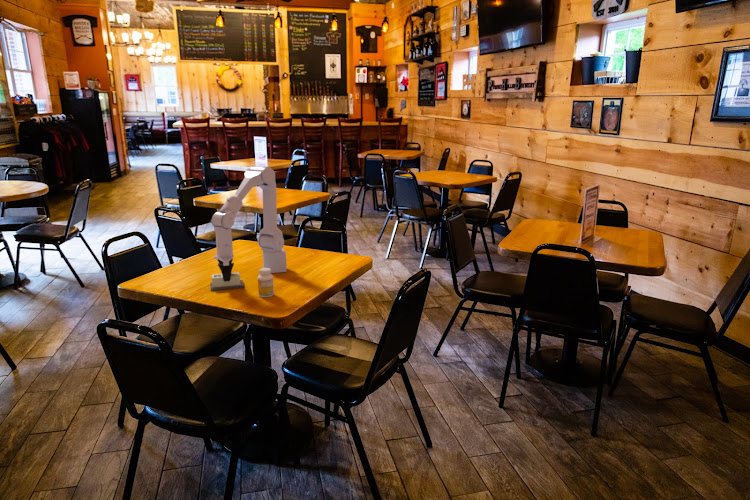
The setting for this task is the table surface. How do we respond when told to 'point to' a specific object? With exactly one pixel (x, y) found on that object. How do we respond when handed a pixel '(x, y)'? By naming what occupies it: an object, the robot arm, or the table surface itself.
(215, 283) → the hollow breeze brick
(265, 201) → the robot arm
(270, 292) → the supplement bottle
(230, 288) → the base
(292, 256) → the table surface
